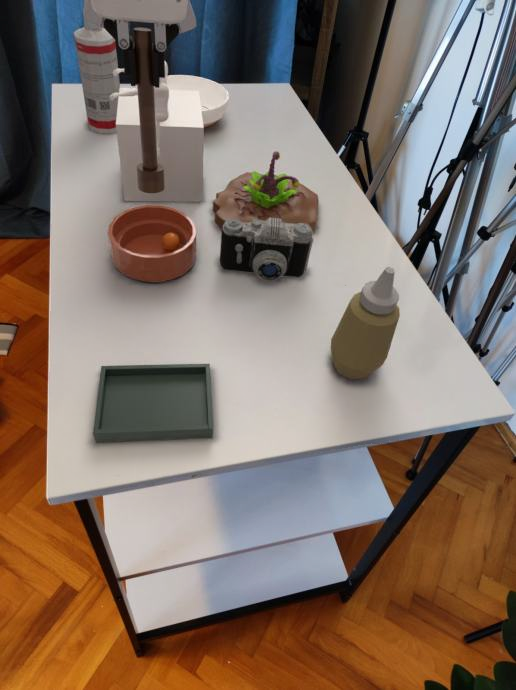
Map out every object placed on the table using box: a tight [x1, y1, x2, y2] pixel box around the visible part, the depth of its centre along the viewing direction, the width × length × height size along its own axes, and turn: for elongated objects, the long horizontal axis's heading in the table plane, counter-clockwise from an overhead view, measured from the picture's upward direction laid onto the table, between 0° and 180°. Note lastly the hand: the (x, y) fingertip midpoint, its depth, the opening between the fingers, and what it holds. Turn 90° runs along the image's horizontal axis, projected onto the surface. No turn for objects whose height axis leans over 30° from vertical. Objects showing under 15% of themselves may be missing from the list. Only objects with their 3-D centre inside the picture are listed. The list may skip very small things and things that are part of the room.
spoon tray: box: [92, 363, 214, 443], centre depth 63 cm, size 14×10×2 cm
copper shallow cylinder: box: [107, 204, 197, 283], centre depth 81 cm, size 14×14×6 cm
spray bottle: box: [73, 0, 121, 134], centre depth 101 cm, size 8×8×25 cm
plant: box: [212, 151, 319, 232], centre depth 91 cm, size 20×20×11 cm
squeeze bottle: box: [330, 266, 401, 381], centre depth 65 cm, size 8×8×18 cm
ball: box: [162, 233, 180, 251], centre depth 83 cm, size 3×3×3 cm
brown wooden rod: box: [133, 27, 164, 193], centre depth 62 cm, size 4×4×19 cm
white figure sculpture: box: [110, 60, 205, 203], centre depth 88 cm, size 15×18×25 cm
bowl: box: [167, 74, 230, 128], centre depth 114 cm, size 20×20×6 cm
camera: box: [219, 217, 314, 282], centre depth 79 cm, size 15×7×10 cm, turn 88°
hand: (145, 81), depth 60 cm, fingers closed on brown wooden rod, 2 cm apart
